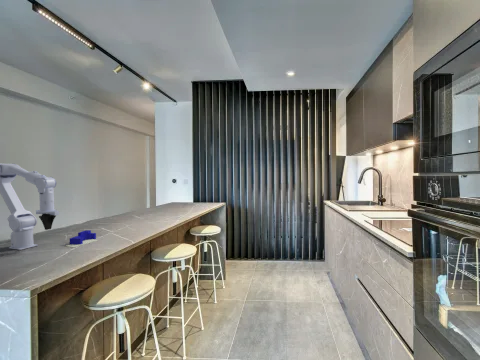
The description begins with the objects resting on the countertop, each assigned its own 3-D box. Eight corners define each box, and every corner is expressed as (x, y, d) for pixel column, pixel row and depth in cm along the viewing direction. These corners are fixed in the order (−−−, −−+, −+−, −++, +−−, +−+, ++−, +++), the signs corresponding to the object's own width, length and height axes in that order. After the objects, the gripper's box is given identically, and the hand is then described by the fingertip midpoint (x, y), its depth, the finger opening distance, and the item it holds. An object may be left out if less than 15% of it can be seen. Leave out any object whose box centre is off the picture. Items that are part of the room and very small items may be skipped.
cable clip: (85, 230, 144) (95, 230, 143) (86, 238, 144) (96, 238, 143) (69, 235, 132) (80, 235, 131) (69, 244, 132) (80, 244, 132)
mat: (65, 246, 130) (65, 245, 130) (90, 239, 142) (90, 238, 142) (73, 247, 127) (73, 246, 127) (98, 240, 140) (98, 239, 140)
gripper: (65, 201, 127) (66, 228, 127) (46, 200, 132) (47, 226, 133) (49, 202, 120) (51, 231, 121) (30, 202, 126) (31, 229, 126)
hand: (48, 229), depth 126 cm, fingers closed
